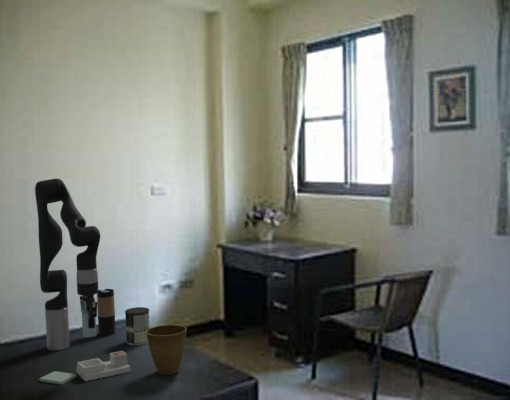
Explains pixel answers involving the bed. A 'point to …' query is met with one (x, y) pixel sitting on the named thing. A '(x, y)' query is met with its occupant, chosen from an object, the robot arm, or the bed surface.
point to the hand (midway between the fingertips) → (89, 326)
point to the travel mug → (106, 312)
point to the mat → (57, 377)
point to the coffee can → (137, 325)
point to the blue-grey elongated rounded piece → (86, 330)
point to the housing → (103, 367)
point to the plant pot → (167, 347)
